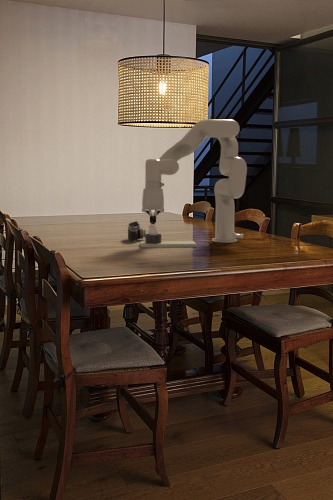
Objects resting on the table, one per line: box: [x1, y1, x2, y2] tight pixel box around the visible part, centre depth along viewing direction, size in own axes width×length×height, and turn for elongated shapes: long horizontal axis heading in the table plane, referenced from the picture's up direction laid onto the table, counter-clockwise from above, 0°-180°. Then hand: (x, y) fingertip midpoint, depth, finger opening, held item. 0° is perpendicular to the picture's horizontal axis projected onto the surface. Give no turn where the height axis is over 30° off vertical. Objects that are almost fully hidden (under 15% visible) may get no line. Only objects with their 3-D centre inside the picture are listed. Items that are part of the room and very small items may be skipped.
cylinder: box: [148, 224, 159, 235], centre depth 272 cm, size 4×4×7 cm
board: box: [140, 240, 197, 248], centre depth 273 cm, size 26×10×2 cm, turn 94°
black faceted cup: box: [144, 233, 162, 244], centre depth 272 cm, size 8×8×4 cm
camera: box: [127, 220, 147, 244], centre depth 290 cm, size 16×8×10 cm, turn 11°
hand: (152, 224), depth 271 cm, fingers closed
